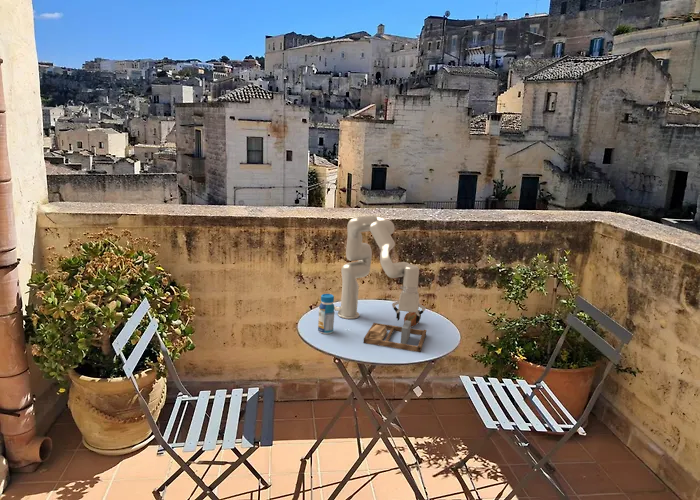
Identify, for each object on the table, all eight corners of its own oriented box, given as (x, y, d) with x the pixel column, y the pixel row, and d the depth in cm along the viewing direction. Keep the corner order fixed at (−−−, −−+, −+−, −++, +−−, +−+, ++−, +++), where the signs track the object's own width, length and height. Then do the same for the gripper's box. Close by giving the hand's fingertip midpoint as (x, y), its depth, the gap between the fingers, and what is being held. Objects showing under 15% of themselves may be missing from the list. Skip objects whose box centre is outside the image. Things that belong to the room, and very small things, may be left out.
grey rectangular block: (400, 344, 277) (401, 327, 275) (404, 336, 289) (405, 320, 287) (406, 345, 277) (407, 328, 275) (409, 337, 288) (411, 321, 286)
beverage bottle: (331, 335, 283) (333, 298, 278) (315, 333, 284) (317, 296, 280) (335, 329, 291) (337, 294, 286) (319, 327, 292) (321, 292, 288)
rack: (363, 342, 276) (363, 337, 275) (373, 326, 299) (373, 321, 298) (420, 352, 269) (420, 346, 268) (425, 335, 292) (426, 329, 291)
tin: (407, 329, 299) (408, 315, 297) (402, 327, 300) (403, 313, 298) (420, 322, 310) (422, 308, 308) (416, 321, 312) (417, 307, 310)
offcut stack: (368, 340, 281) (368, 331, 280) (374, 331, 293) (374, 323, 292) (381, 342, 279) (382, 333, 278) (387, 333, 291) (388, 325, 290)
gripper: (392, 289, 275) (389, 321, 278) (426, 293, 271) (423, 325, 274) (394, 285, 282) (392, 316, 285) (427, 289, 278) (425, 321, 281)
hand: (407, 321), depth 280 cm, fingers open, 9 cm apart
